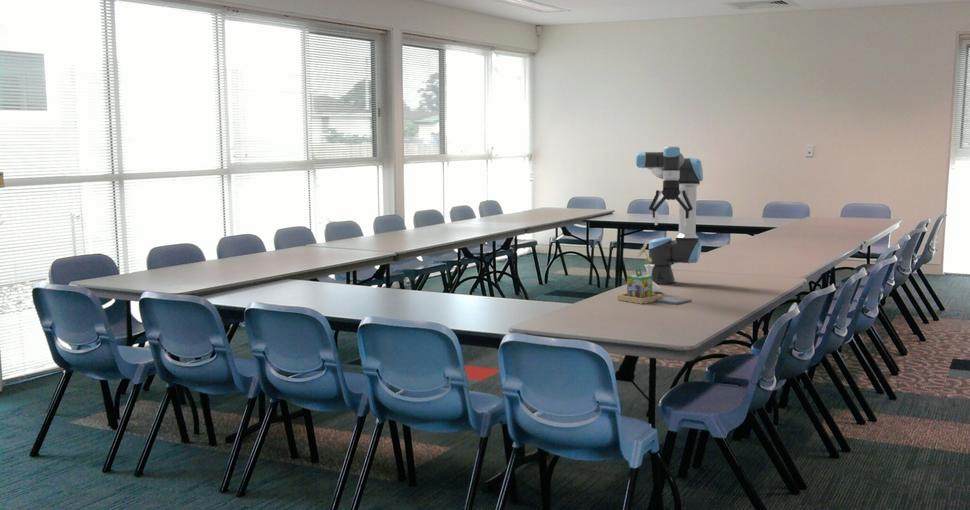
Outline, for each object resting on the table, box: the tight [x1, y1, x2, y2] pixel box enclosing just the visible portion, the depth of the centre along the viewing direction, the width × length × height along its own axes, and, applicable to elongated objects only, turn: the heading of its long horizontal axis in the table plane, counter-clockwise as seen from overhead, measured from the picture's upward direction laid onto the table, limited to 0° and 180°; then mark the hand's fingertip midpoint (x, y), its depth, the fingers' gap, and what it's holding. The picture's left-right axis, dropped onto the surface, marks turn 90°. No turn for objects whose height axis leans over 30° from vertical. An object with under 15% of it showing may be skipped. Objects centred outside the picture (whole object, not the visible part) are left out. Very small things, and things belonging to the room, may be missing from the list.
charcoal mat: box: [655, 295, 692, 305], centre depth 427 cm, size 12×12×1 cm
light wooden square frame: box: [616, 292, 663, 305], centre depth 432 cm, size 15×15×2 cm
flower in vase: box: [637, 242, 662, 294], centre depth 450 cm, size 13×11×25 cm
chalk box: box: [626, 268, 652, 298], centre depth 432 cm, size 9×9×15 cm
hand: (670, 225), depth 431 cm, fingers open, 13 cm apart
